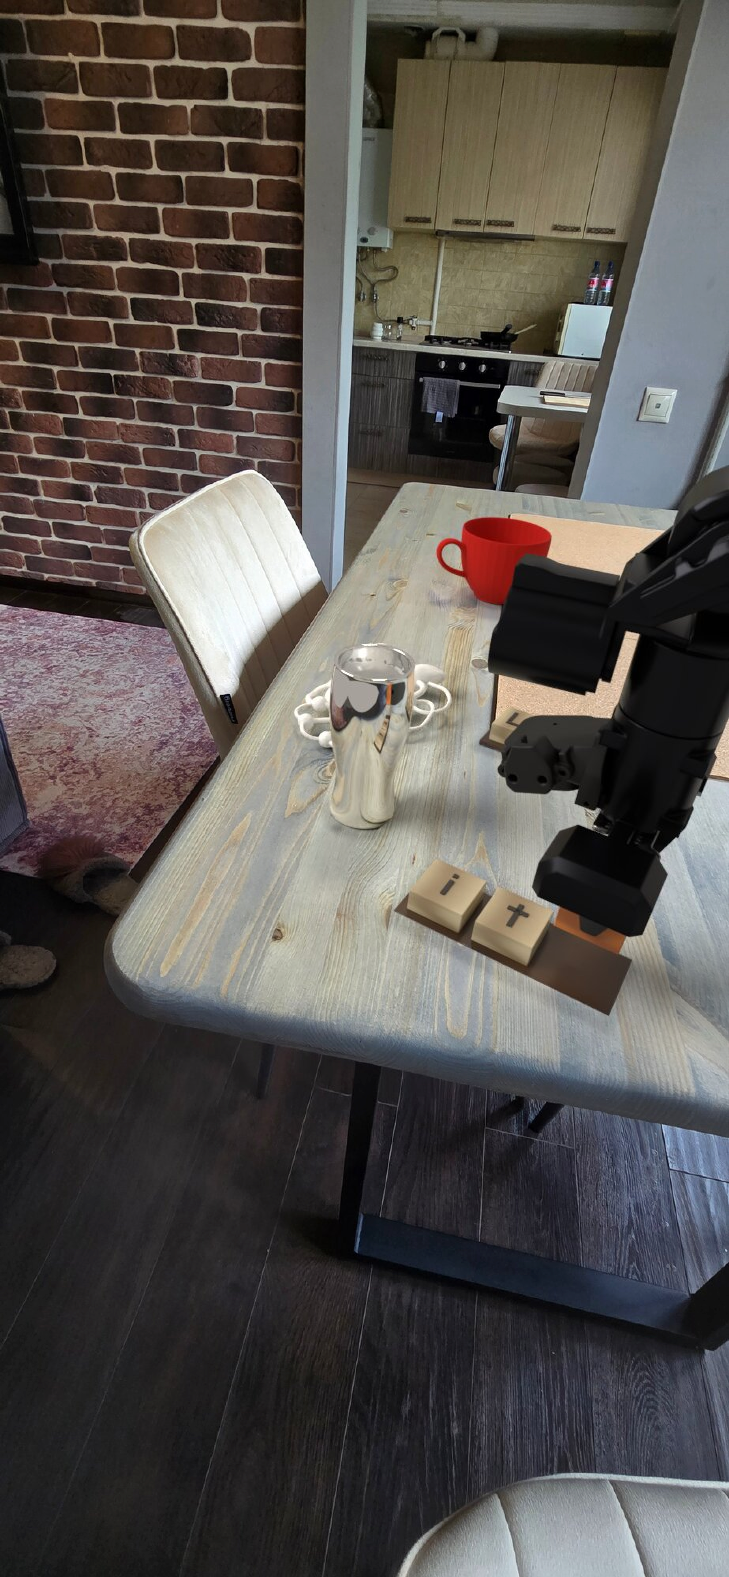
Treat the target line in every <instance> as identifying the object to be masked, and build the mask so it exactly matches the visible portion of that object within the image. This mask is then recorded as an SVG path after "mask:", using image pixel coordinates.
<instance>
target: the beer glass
mask: <svg viewBox="0 0 729 1577" xmlns="http://www.w3.org/2000/svg"><path fill="white" fill-rule="evenodd" d="M415 664H416V661H415V659H414V658H413V657H412V655H410V654H409V653H407V652H406V651H404V650H402V649H400V648H398V647H395V646H391V645H388V644H386V645H382V644H376V643H369V642H368V643H357V644H352V645H348V646H345V647H343V648H341V649H339V650H338V651H337V652H336V653H335V654H334V657H333V667H332V673H331V674H332V675H331V679H332V681H331V689H330V701H329V711H328V713H329V714H328V717H329V722H330V723H329V731H330V733H331V740H332V747H333V748H332V747H331V748H332V753H333V758H334V759H333V760H334V766H335V780H334V786H333V789H332V793H331V796H330V799H329V810H330V813H331V815H332V816H333V818H334V819H335V820H336V821H338V822H339V823H341V824H342V825H344V826H347V827H350V828H353V829H359V830H371V829H376V828H380V827H382V826H384V825H385V824H386V823H387V822H388V821H389V820H390V819H391V818H392V817H393V816H394V815H395V814H396V809H397V805H396V796H395V795H396V793H395V780H396V774H397V771H398V767H399V764H400V761H401V757H402V755H403V752H404V748H405V745H406V743H407V739H408V737H409V736H408V735H409V732H410V731H409V728H410V727H411V724H412V717H413V714H412V711H413V701H414V674H415Z"/></svg>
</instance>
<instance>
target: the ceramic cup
mask: <svg viewBox="0 0 729 1577" xmlns="http://www.w3.org/2000/svg"><path fill="white" fill-rule="evenodd" d="M461 529H462V530H461V540H459V539H457V538H453V537H447V538H444V539H443V540H441V541H440V542H439V543H438V545H437V547H436V552H435V553H436V559H437V561H438V563H439V565H440V566H441V567H442V568H443V569H444V570H445V571H446V572H448V573H450V574H453V575H454V576H458V577H461V578H463V579H465V582H466V583H467V584H468V587H469V588H470V589H471V591H472V592H473V595H474V596H475V598H477V599H478V600H480V601H482V602H485V603H489V604H494V605H504V602H505V599H506V596H507V594H508V591H509V589H510V586H511V584H512V579H513V574H514V569H515V565H516V564H517V563H518V562H519V560H520V559H521V558H522V557H523V556H524V555H525V554H527V553H528V554H533V555H538V556H543V557H547V558H548V555H549V552H550V548H551V543H552V539H553V538H552V537H553V536H552V533H551V532H550V531H549V530H548V529H546V528H545V527H543V526H540V525H539V524H536V523H534V522H533V523H532V522H530V521H527V520H522V519H517V518H510V517H499V516H484V517H483V516H482V517H476V518H471V519H469V520H466V521H465V522H464V523H463V525H462V528H461ZM448 545H455V546H457V547H458V548H459V550H460V561H461V568H462V570H460V569H457V568H454V567H452V566H450V565H448V563H446V561H445V560H444V558H443V551H444V549H445V547H447V546H448Z"/></svg>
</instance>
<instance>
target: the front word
mask: <svg viewBox="0 0 729 1577" xmlns="http://www.w3.org/2000/svg"><path fill="white" fill-rule="evenodd" d="M487 884H488V881H487V880H485V879H483V878H481V877H478V876H476V875H475V874H472V873H470V872H467V871H466V870H463V869H461V868H458V867H457V866H455V865H451V864H450V863H447V862H445V861H442V860H441V859H438V858H436V859H434V860H433V862H432V863H431V864H430V865H429V866H428V868H427V869H426V870H425V871H424V873H423V874H422V875H421V876H420V877H419V878H418V880H417V881H416V882H415V883H414V884H413V886H412V887H411V888H410V889H409V892H408V893H407V894H406V895H405V896H404V898H402V900H401V901H400V902H399V903H398V905H396V907H395V908H394V910H393V912H394V913H397V914H399V915H401V916H403V917H405V918H407V919H409V920H411V921H413V922H415V923H417V924H419V925H422V926H424V927H425V928H428V929H430V930H431V931H434V932H436V933H438V934H440V935H442V936H443V937H446V938H447V939H450V940H452V941H455V942H456V943H458V944H460V945H462V946H464V947H466V948H469V949H471V950H473V951H474V952H476V953H479V954H481V955H483V956H485V957H487V958H489V959H491V960H493V961H494V962H497V963H499V964H501V965H503V966H505V967H508V968H509V969H511V970H513V971H516V972H518V973H520V974H522V975H524V976H526V977H527V978H530V979H532V980H534V981H536V982H538V983H540V984H542V985H544V986H546V987H548V988H550V989H552V990H555V991H557V992H558V993H561V994H562V995H565V996H567V997H569V998H571V999H573V1000H575V1001H577V1002H579V1003H581V1004H583V1005H585V1006H587V1007H590V1008H591V1009H593V1010H596V1011H597V1012H600V1013H602V1014H603V1015H605V1016H608V1017H609V1016H610V1014H611V1011H612V1009H613V1006H614V1004H615V1001H616V999H617V997H618V995H619V992H620V990H621V988H622V985H623V982H624V980H625V977H626V976H627V973H628V971H629V968H630V966H631V964H632V961H633V960H632V958H630V957H627V956H625V955H622V954H621V953H619V954H615V953H613V952H611V951H609V950H606V949H604V948H602V947H600V946H598V945H595V944H593V943H591V942H589V941H587V940H584V939H582V938H580V937H578V936H576V935H573V934H571V933H569V932H567V931H564V930H562V929H560V928H558V927H556V926H554V923H552V920H553V918H554V917H553V916H554V913H555V911H554V910H553V909H551V908H549V907H546V906H544V905H542V904H540V903H537V902H535V901H533V900H530V899H528V898H526V897H524V896H522V895H519V894H517V893H516V892H513V891H511V890H509V889H505V888H503V887H501V886H499V887H497V889H496V891H495V892H494V894H493V895H491V894H488V893H485V892H486V888H487Z"/></svg>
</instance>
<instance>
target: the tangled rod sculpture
mask: <svg viewBox="0 0 729 1577" xmlns="http://www.w3.org/2000/svg"><path fill="white" fill-rule="evenodd" d="M375 644H382V645H387V644H386V643H383V642H376V643H375ZM446 679H447V674H446V672H445V671H444V670H441V669H440V668H438V667H436V666H434V665H432V664H428V663H420V664H419V663H418V664H416V663H415V674H414V701H413V711H412V715H413V714H414V713H417V714H420V715H424V716H426V717H425V719H424V721H423V722H422V723H421V724H419V725H417V726H410V728H409V732H418V731H421V730H423V729H424V728H425V727H426V726H427V725H428V724H429V722H430V721H431V719H432V718H433V716H434V715H438V714H442V713H444V712H447V711H448V709H449V708H450V707H451V705H452V700H453V698H452V695H451V693H450V691H449V690H448V689H447V687H445V686H443V685H440V684H442V683H443V682H445V680H446ZM331 681H332V678H331V679H330V680H329V681H327V683H324V684H321V685H319V686H317V687H315V688H314V689H313V690H312V691H311V692H308V693H307V694H306V695H305V699H304V700H305V703H302V704H300V705H299V706H297V707H295V709H294V712H293V713H294V717H295V718H296V719H297V724H298V727H299V731H300V733H301V735H302V736H303V737H304V738H306V739H309V740H311V741H315V742H318V744H319V745H320V746H321V747H322V748H324V749H325V748H326V749H329V748H332V749H333V747H332V740H331V733H330V730H329V731H328V730H325V731H322V732H320V734H319V736H314V735H311V734H309V733H307V732H306V731H305V730H310V729H312V728H313V727H314V725H315V724H330V722H329V716H328V717H313V715H312V714H310V713H308V712H306V713H305V712H304V713H301V714H299V712H300V711H302V710H303V709H305V708H307V707H312V708H313V710H314V711H316V712H318V713H321V712H322V713H323V712H324V711H326V710H327V711H328V712H329V701H330V689H331ZM430 687H431V688H434V689H437V690H440V691H442V692H443V693H444V694H445V695H446V697H447V702H446V704H445V705H444V706H443V707H440V708H437V709H436V707H435V704H434V703H433V702H432V701H430V700H428V699H419V698H420V697H422V696H424V694H426V691H427V689H428V688H430ZM322 692H325V694H324V696H323V695H320V694H321V693H322ZM421 704H423V705H427V706H428V707H430V710H425V709H421V708H419V707H417V706H418V705H421Z"/></svg>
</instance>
